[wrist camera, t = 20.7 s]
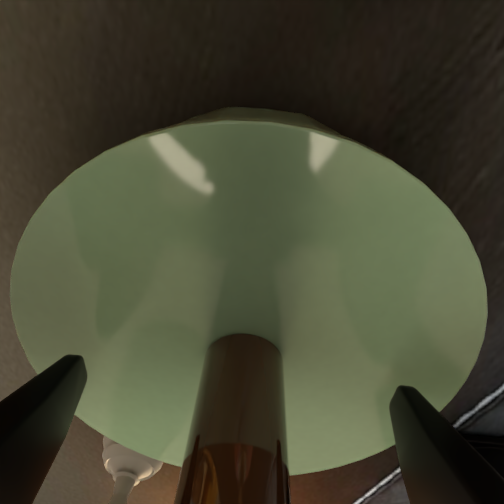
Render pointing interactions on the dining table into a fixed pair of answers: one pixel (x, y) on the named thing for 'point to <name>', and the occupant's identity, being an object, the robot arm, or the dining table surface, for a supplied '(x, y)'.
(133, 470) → the chalice
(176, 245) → the pot lid
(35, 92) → the dining table surface
